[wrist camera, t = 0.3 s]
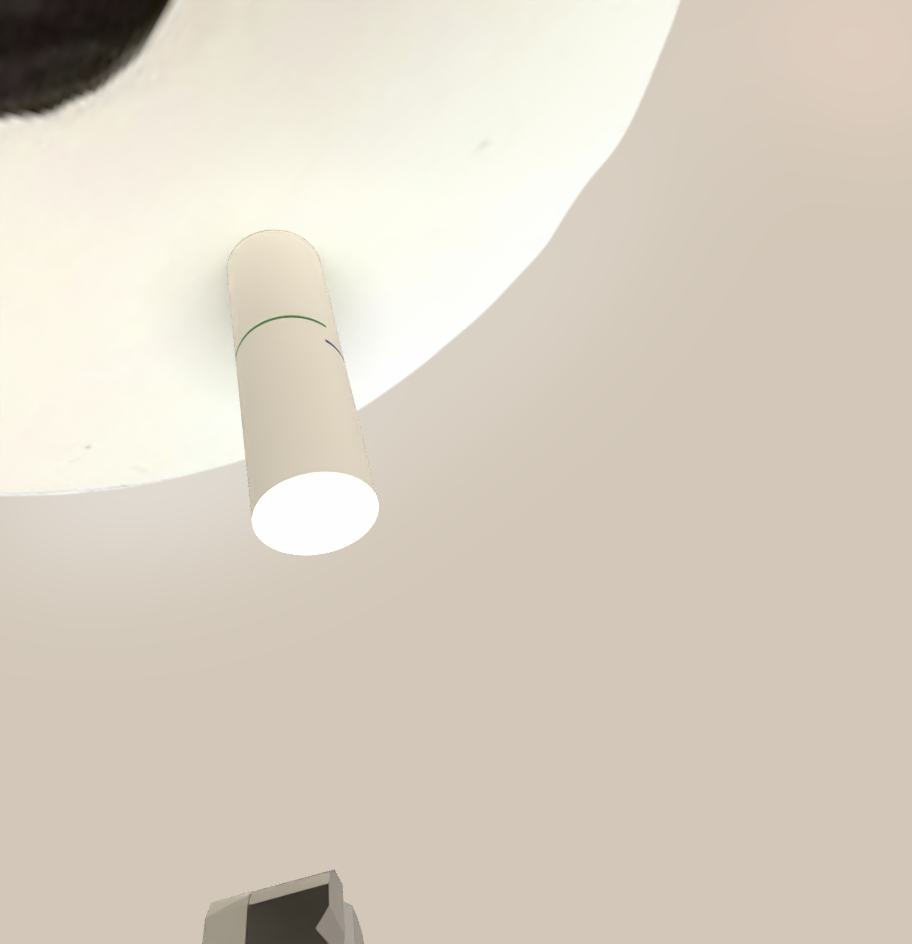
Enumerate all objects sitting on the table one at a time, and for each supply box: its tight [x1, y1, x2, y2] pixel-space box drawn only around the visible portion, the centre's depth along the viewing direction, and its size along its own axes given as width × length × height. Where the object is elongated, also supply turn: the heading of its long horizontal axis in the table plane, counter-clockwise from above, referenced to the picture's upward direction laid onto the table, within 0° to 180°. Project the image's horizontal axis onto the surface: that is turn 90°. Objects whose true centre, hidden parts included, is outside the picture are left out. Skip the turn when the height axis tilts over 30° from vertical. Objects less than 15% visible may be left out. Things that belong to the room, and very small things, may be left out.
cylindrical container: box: [227, 230, 379, 555], centre depth 53 cm, size 7×7×25 cm
